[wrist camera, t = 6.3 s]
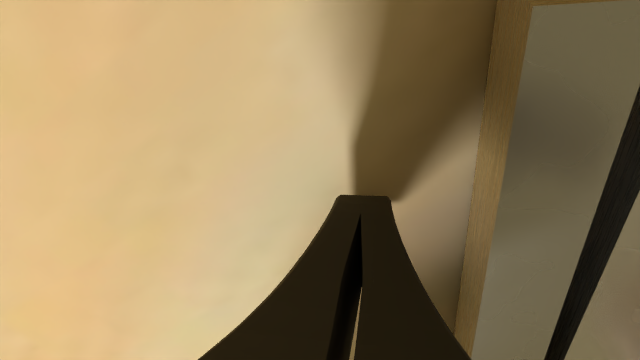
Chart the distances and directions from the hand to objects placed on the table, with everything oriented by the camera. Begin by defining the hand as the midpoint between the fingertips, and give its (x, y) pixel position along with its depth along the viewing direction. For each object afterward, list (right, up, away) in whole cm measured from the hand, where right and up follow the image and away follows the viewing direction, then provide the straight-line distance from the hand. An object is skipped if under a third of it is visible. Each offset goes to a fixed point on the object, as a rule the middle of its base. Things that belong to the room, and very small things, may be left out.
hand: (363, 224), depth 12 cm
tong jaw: (+4, -2, +1) cm, 5 cm away
